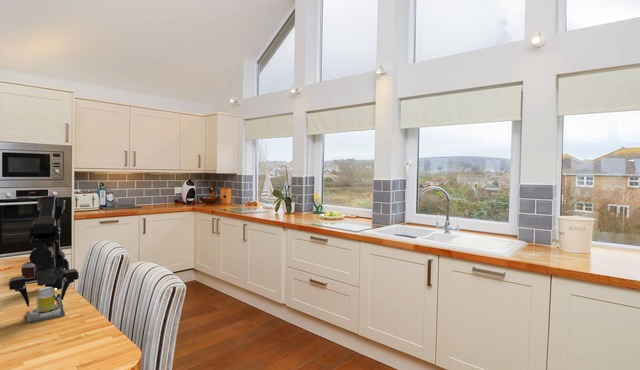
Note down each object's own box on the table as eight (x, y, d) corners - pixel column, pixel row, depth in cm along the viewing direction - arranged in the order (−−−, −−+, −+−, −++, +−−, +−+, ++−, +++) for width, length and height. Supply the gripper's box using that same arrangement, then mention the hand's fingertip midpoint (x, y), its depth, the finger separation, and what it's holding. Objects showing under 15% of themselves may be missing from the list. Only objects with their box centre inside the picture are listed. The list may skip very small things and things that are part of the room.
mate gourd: (25, 283, 156) (24, 249, 156) (18, 280, 160) (17, 247, 160) (45, 279, 162) (44, 246, 162) (38, 276, 167) (37, 244, 166)
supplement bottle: (57, 311, 124) (57, 287, 124) (42, 316, 120) (41, 291, 119) (49, 309, 126) (49, 285, 126) (34, 313, 122) (33, 289, 121)
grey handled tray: (25, 301, 135) (24, 291, 135) (59, 295, 142) (59, 286, 142) (27, 323, 116) (27, 312, 116) (67, 315, 123) (67, 304, 123)
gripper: (8, 268, 110) (9, 317, 110) (80, 259, 122) (81, 303, 123) (8, 261, 118) (9, 307, 119) (76, 253, 130) (76, 294, 131)
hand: (45, 303), depth 123 cm, fingers open, 9 cm apart
